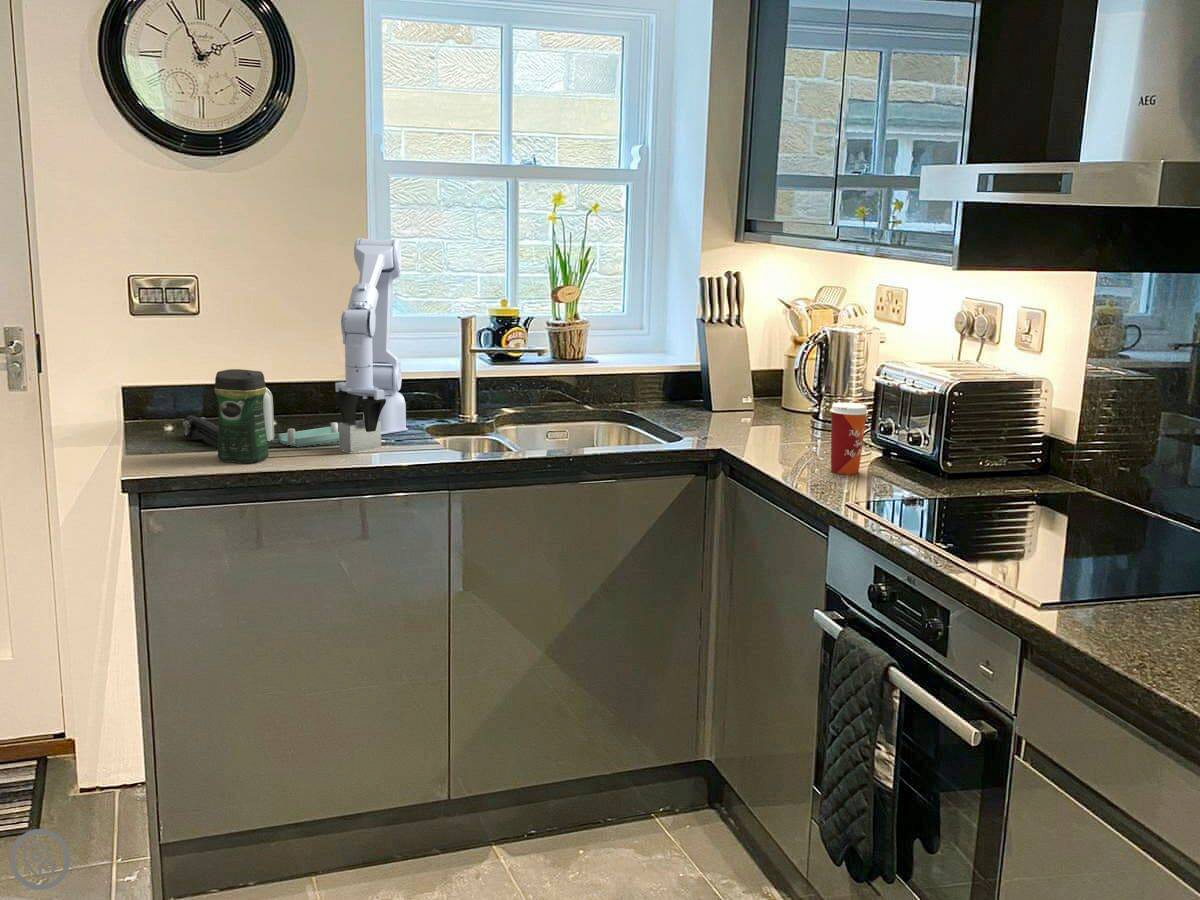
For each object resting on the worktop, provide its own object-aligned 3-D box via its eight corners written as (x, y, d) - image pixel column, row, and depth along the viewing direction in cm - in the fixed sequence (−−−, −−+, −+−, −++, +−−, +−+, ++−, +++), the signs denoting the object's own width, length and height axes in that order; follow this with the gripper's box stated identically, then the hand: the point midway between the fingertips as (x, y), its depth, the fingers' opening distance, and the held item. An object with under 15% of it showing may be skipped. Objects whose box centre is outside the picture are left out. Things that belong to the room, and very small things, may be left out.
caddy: (328, 435, 263) (328, 420, 263) (347, 440, 259) (347, 424, 258) (278, 443, 254) (278, 427, 253) (297, 448, 249) (297, 432, 249)
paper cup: (856, 477, 235) (861, 409, 233) (820, 472, 239) (824, 405, 237) (869, 470, 242) (874, 404, 239) (834, 465, 246) (838, 400, 243)
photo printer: (239, 435, 261) (237, 381, 258) (257, 433, 264) (255, 379, 261) (258, 443, 253) (256, 387, 251) (277, 441, 256) (275, 385, 253)
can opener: (176, 439, 256) (174, 414, 255) (206, 435, 261) (205, 411, 260) (211, 453, 244) (209, 426, 242) (242, 449, 248) (241, 423, 247)
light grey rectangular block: (369, 445, 254) (369, 418, 253) (381, 448, 252) (380, 420, 251) (339, 450, 249) (338, 422, 247) (350, 453, 246) (350, 425, 245)
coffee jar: (274, 457, 240) (271, 368, 236) (253, 465, 232) (250, 373, 228) (233, 454, 242) (229, 365, 238) (211, 461, 235) (207, 370, 231)
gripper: (323, 363, 248) (324, 426, 251) (364, 371, 239) (365, 435, 241) (350, 361, 253) (351, 422, 256) (391, 368, 244) (392, 431, 247)
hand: (360, 428), depth 249 cm, fingers open, 7 cm apart
